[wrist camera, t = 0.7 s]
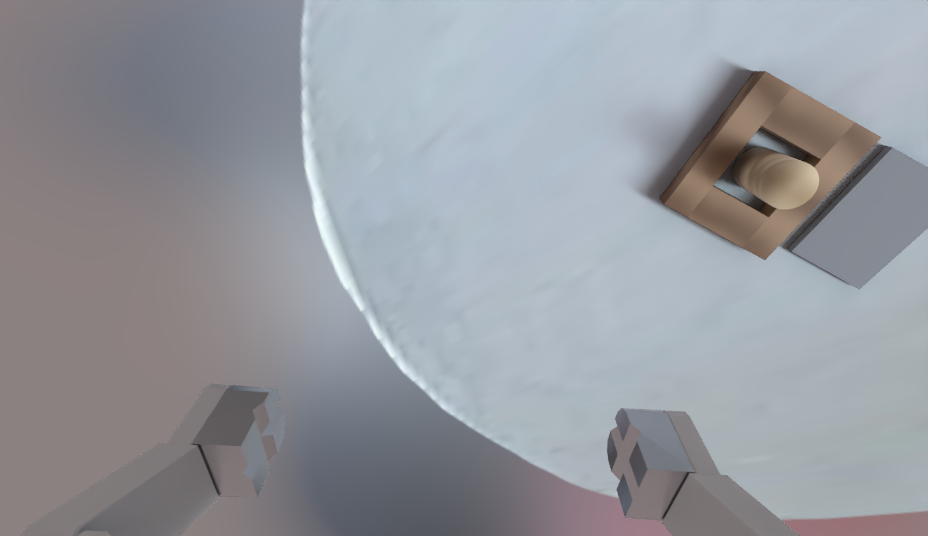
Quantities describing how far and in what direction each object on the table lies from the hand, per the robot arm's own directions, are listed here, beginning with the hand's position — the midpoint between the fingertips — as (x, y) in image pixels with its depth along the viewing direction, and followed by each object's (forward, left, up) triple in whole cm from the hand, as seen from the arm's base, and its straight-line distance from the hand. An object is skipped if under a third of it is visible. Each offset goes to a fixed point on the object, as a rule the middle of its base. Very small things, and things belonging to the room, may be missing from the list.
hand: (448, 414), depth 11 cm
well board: (-9, +22, -45) cm, 51 cm away
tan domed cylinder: (-9, +22, -45) cm, 51 cm away
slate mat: (-10, +36, -45) cm, 58 cm away
